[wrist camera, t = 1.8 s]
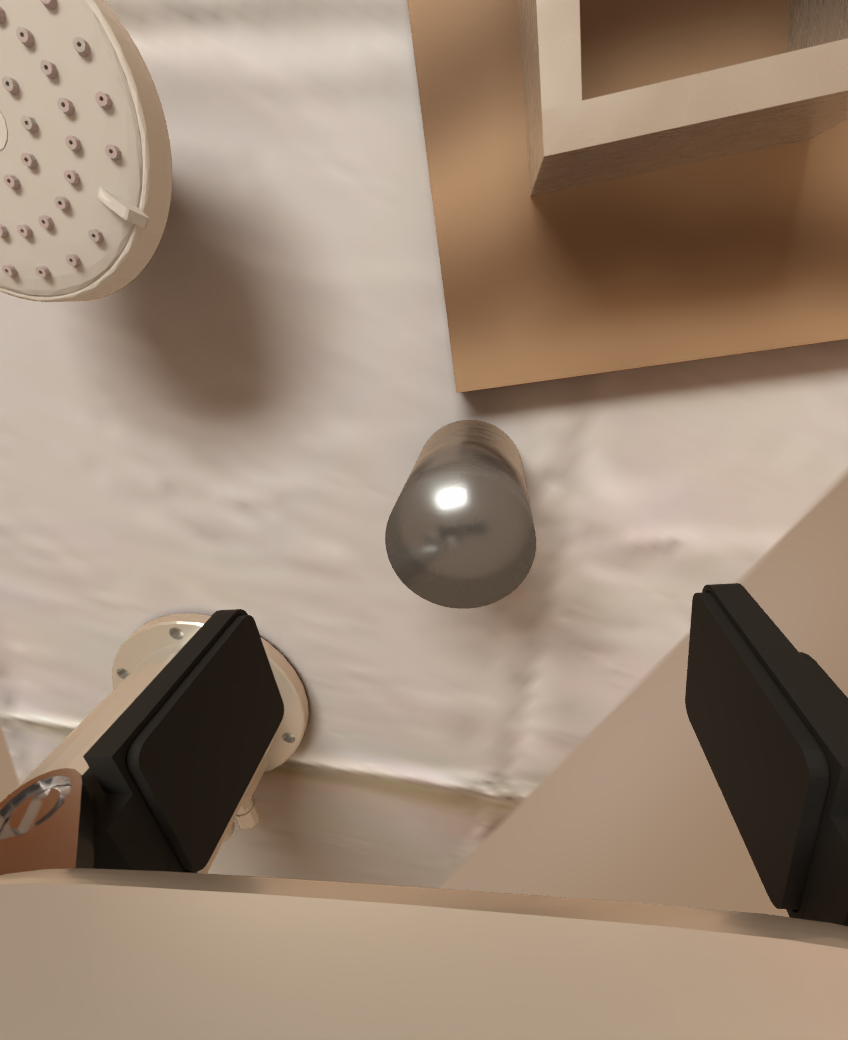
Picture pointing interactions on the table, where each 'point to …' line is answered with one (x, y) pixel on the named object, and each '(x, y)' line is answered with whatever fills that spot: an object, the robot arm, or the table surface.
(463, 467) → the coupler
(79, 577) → the table surface
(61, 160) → the showerhead
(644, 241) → the board
